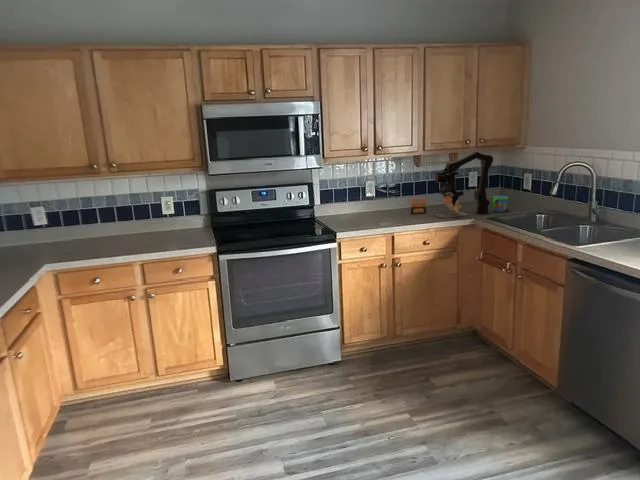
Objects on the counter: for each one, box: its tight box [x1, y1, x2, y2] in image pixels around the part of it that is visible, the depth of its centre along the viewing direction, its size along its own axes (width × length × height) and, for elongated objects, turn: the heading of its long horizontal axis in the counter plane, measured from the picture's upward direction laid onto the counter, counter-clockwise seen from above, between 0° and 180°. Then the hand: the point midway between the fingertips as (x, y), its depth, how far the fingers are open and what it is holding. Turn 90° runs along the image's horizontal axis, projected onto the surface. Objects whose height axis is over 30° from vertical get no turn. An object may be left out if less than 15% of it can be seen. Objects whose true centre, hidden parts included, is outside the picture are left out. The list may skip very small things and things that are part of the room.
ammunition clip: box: [410, 196, 427, 215], centre depth 355 cm, size 11×2×12 cm, turn 88°
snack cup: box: [491, 195, 509, 213], centre depth 352 cm, size 16×10×10 cm
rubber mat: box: [434, 211, 470, 219], centre depth 345 cm, size 20×11×1 cm, turn 101°
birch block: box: [442, 194, 462, 213], centre depth 344 cm, size 6×6×12 cm
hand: (450, 204), depth 344 cm, fingers closed on birch block, 5 cm apart
